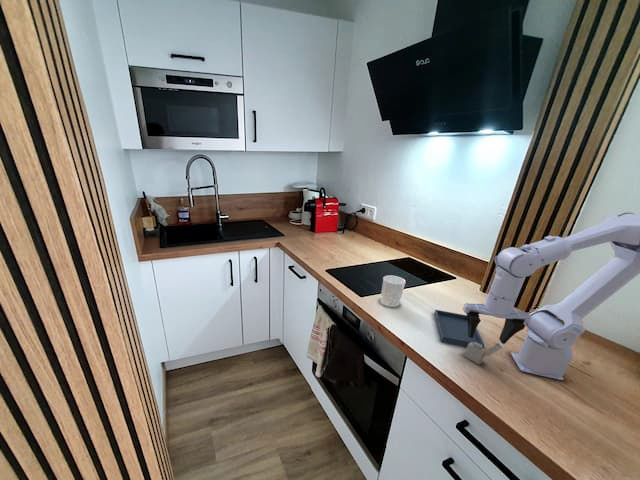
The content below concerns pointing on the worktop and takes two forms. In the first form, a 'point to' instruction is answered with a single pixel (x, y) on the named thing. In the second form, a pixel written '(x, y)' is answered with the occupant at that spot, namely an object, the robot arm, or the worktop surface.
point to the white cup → (392, 290)
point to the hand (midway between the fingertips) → (485, 338)
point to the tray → (455, 329)
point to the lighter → (479, 351)
